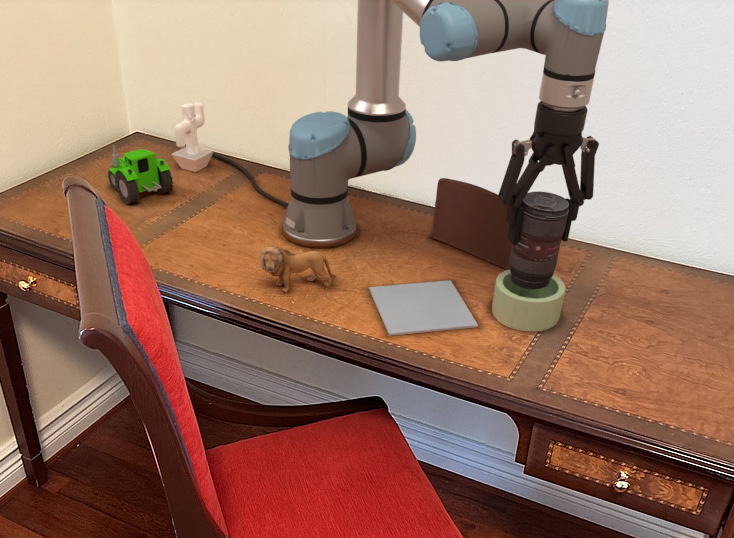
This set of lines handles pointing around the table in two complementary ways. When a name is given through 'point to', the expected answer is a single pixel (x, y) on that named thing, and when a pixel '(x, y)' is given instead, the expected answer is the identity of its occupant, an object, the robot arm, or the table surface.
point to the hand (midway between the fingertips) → (537, 239)
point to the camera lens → (538, 240)
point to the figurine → (191, 139)
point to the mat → (421, 307)
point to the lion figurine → (293, 265)
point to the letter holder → (472, 221)
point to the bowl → (527, 304)
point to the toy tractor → (139, 174)
